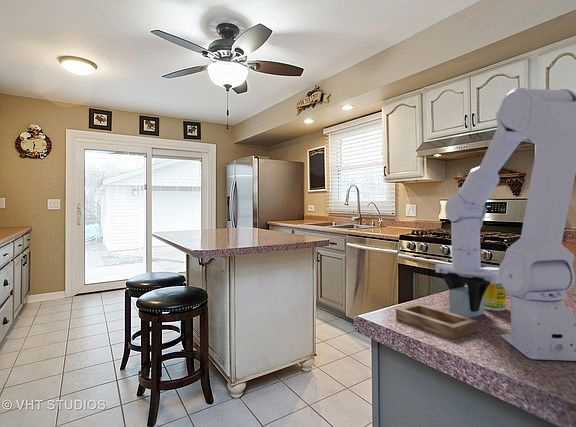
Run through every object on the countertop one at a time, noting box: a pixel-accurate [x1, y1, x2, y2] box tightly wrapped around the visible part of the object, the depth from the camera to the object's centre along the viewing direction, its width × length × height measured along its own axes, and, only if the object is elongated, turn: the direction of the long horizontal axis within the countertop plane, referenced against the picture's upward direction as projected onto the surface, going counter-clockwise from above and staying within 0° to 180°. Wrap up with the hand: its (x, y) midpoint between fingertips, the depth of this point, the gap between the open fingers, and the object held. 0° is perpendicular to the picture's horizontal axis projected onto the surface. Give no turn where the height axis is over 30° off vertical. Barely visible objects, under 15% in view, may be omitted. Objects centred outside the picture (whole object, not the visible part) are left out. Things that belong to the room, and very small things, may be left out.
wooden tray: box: [395, 303, 479, 340], centre depth 69 cm, size 14×7×2 cm, turn 28°
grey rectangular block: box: [448, 285, 485, 319], centre depth 74 cm, size 8×3×6 cm, turn 118°
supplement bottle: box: [481, 266, 507, 312], centre depth 79 cm, size 5×5×10 cm
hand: (466, 308), depth 74 cm, fingers closed on grey rectangular block, 3 cm apart
